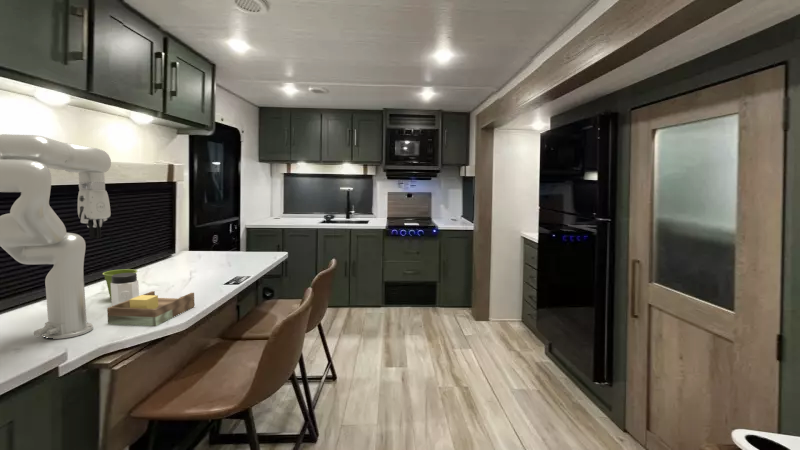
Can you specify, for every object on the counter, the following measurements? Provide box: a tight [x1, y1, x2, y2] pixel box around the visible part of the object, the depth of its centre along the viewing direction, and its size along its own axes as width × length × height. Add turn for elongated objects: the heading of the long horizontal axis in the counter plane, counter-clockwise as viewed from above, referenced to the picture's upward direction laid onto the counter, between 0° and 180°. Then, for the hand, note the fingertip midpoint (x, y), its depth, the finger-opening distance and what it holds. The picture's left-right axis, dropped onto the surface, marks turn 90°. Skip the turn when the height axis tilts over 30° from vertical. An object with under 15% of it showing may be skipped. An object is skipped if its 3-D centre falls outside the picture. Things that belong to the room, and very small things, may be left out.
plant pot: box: [102, 268, 138, 300], centre depth 174 cm, size 12×12×11 cm
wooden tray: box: [106, 290, 195, 327], centre depth 154 cm, size 22×17×6 cm
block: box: [129, 294, 159, 309], centre depth 148 cm, size 6×6×5 cm
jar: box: [110, 272, 140, 306], centre depth 165 cm, size 9×8×12 cm
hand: (95, 238), depth 156 cm, fingers closed
